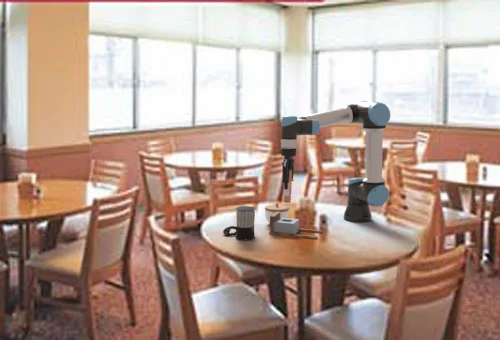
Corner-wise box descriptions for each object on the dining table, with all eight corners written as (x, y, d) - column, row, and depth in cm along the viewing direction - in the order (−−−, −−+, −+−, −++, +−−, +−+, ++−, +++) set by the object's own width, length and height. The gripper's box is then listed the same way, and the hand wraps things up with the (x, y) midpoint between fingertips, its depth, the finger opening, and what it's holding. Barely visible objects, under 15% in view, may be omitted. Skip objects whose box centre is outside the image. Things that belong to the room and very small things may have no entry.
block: (298, 231, 306) (299, 219, 305) (293, 235, 297) (293, 223, 296) (279, 229, 309) (279, 217, 308) (273, 233, 300) (274, 221, 299)
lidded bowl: (291, 222, 325) (291, 202, 323) (284, 227, 313) (285, 206, 312) (268, 220, 329) (269, 200, 327) (261, 225, 317) (261, 204, 316)
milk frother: (254, 241, 287) (254, 210, 285) (220, 240, 288) (221, 209, 285) (255, 233, 301) (256, 204, 299) (224, 232, 302) (224, 203, 300)
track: (322, 233, 304) (323, 215, 302) (316, 239, 291) (317, 221, 290) (276, 228, 312) (277, 211, 310) (269, 234, 299) (269, 216, 298)
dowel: (291, 201, 302) (292, 169, 299) (289, 203, 299) (290, 170, 296) (284, 201, 303) (285, 169, 301) (282, 202, 300) (283, 170, 297)
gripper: (285, 145, 306) (284, 191, 309) (276, 149, 290) (275, 197, 294) (300, 146, 303) (299, 192, 307) (291, 149, 288) (290, 198, 291)
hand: (287, 194), depth 300 cm, fingers closed on dowel, 3 cm apart
